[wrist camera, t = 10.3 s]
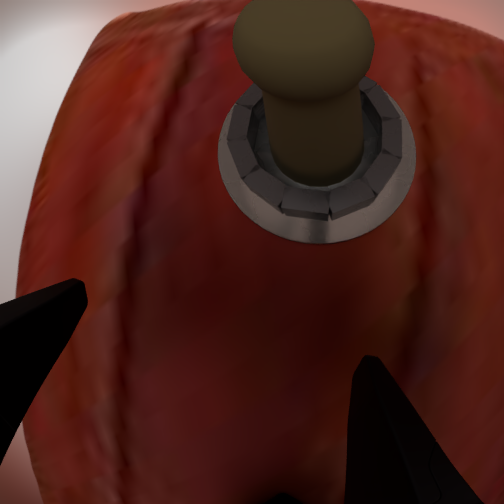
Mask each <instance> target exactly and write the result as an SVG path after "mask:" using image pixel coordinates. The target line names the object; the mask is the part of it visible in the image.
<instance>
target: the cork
mask: <svg viewBox="0 0 504 504" xmlns="http://www.w3.org/2000/svg"><path fill="white" fill-rule="evenodd" d="M232 39H233V49H234V52H235V55H236V57H237V60H238V62H239V64H240V66H241V69H242V71H243V72H244V73H245V74H246V75H247V76H248V77H249V78H250V79H251V80H252V81H253V82H254V83H255V84H256V85H257V86H258V87H259V88H260V89H261V90H262V95H263V102H264V109H265V116H266V123H267V130H268V137H269V145H270V151H271V154H272V157H273V160H274V163H275V164H276V165H277V167H278V168H279V169H280V171H281V172H282V173H283V174H284V175H286V176H287V177H288V178H290V179H291V180H293V181H294V182H297V183H300V184H303V185H306V186H309V187H327V186H330V185H334V184H337V183H340V182H342V181H343V180H345V179H346V178H348V177H349V176H351V175H352V174H353V173H354V172H355V170H356V169H357V167H358V166H359V165H360V163H361V161H362V157H363V153H364V134H363V121H362V110H361V99H360V90H359V82H360V81H361V80H362V78H363V77H364V76H365V74H366V73H367V71H368V70H369V68H370V64H371V60H372V56H373V51H374V45H375V43H374V39H373V35H372V31H371V27H370V24H369V21H368V19H367V18H366V16H365V15H364V14H363V13H362V11H361V10H360V9H359V8H358V7H357V6H356V4H355V3H354V2H353V1H352V0H253V1H251V2H250V3H249V4H248V5H246V6H245V7H244V9H243V10H242V12H241V13H240V15H239V16H238V18H237V21H236V23H235V25H234V32H233V38H232Z"/></svg>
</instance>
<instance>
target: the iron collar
mask: <svg viewBox="0 0 504 504" xmlns="http://www.w3.org/2000/svg"><path fill="white" fill-rule="evenodd" d="M359 90H360V99H361V110H362V121H363V134H364V153H363V157H362V161H361V163H360V165H359V166H358V167H357V169H356V170H355V172H354V173H353V174H352V175H351V176H349V177H348V178H346V179H345V180H343V181H342V182H340V183H337V184H334V185H330V186H327V187H309V186H306V185H303V184H300V183H297V182H294V181H293V180H291V179H290V178H288V177H287V176H286V175H284V174H283V173H282V172H281V171H280V169H279V168H278V167H277V165H276V164H275V163H274V160H273V157H272V154H271V151H270V145H269V137H268V130H267V123H266V116H265V109H264V102H263V95H262V90H261V89H260V88H259V87H258V86H257V85H256V84H255V83H253V84H252V85H251V86H250V87H249V88H248V90H247V91H246V92H245V93H244V94H243V95H242V96H241V97H240V98H239V99H238V100H237V101H236V103H235V104H234V105H233V107H232V109H231V110H230V112H229V113H228V115H227V117H226V119H225V122H224V124H223V127H222V130H221V133H220V138H219V144H218V161H219V169H220V173H221V176H222V180H223V182H224V184H225V187H226V189H227V191H228V193H229V194H230V196H231V198H232V199H233V201H234V202H235V203H236V205H237V206H238V207H239V208H240V209H241V211H242V212H243V213H244V214H246V215H247V216H248V217H249V218H250V219H251V220H252V221H253V222H255V223H256V224H258V225H259V226H261V227H262V228H263V229H265V230H267V231H269V232H271V233H273V234H275V235H277V236H279V237H282V238H285V239H288V240H291V241H295V242H300V243H305V244H318V245H319V244H334V243H339V242H345V241H348V240H351V239H354V238H357V237H360V236H362V235H364V234H366V233H368V232H370V231H372V230H373V229H375V228H376V227H378V226H379V225H381V224H382V223H383V222H384V221H385V220H387V219H388V218H389V217H390V216H391V215H392V214H393V213H394V212H395V210H396V209H397V208H398V207H399V205H400V204H401V203H402V201H403V200H404V198H405V196H406V194H407V193H408V191H409V188H410V186H411V183H412V180H413V176H414V172H415V165H416V149H415V142H414V137H413V133H412V130H411V128H410V125H409V123H408V120H407V119H406V117H405V115H404V113H403V111H402V110H401V108H400V107H399V106H398V104H397V103H396V102H395V101H394V100H393V98H392V97H391V96H390V95H389V94H388V93H387V92H385V91H384V90H383V89H382V88H381V86H380V85H377V83H376V82H375V81H373V80H371V79H369V78H368V77H366V76H364V77H363V78H362V80H361V81H360V82H359Z"/></svg>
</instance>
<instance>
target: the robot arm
mask: <svg viewBox="0 0 504 504" xmlns="http://www.w3.org/2000/svg"><path fill="white" fill-rule="evenodd" d="M87 304H88V299H87V294H86V289H85V284H84V282H83V281H81V280H78V279H75V278H71V279H69V280H66V281H63V282H60V283H57V284H54V285H52V286H49V287H46V288H43V289H41V290H38V291H35V292H32V293H30V294H27V295H24V296H21V297H19V298H16V299H13V300H11V301H8V302H5V303H3V304H0V465H1V463H2V461H3V458H4V456H5V454H6V452H7V450H8V448H9V446H10V444H11V441H12V439H13V437H14V435H15V433H16V431H17V429H18V427H19V425H20V423H21V421H22V420H23V418H24V416H25V414H26V412H27V410H28V408H29V407H30V405H31V403H32V401H33V399H34V398H35V396H36V394H37V392H38V391H39V389H40V387H41V385H42V384H43V382H44V380H45V379H46V377H47V375H48V374H49V372H50V370H51V369H52V367H53V365H54V364H55V362H56V361H57V359H58V357H59V356H60V354H61V353H62V351H63V349H64V348H65V346H66V345H67V343H68V341H69V339H70V338H71V336H72V334H73V332H74V330H75V328H76V326H77V324H78V322H79V321H80V319H81V317H82V315H83V313H84V311H85V309H86V307H87ZM281 498H283V499H285V500H282V499H281ZM264 504H302V503H301V502H299V501H298V500H296V499H294V498H293V497H291V496H289V495H288V494H286V493H280V494H278V495H276V496H275V497H273V498H272V499H270V500H268V501H267V502H265V503H264ZM344 504H484V503H483V502H482V501H481V500H480V499H479V498H478V496H477V495H476V494H475V493H474V491H473V490H472V489H471V487H470V486H469V485H468V484H467V482H466V481H465V480H464V479H463V477H462V476H461V475H460V474H459V472H458V471H457V470H456V468H455V467H454V466H453V464H452V463H451V462H450V460H449V459H448V457H447V456H446V454H445V453H444V452H443V450H442V449H441V447H440V445H439V444H438V442H436V440H435V438H434V437H433V435H432V434H431V432H430V431H429V429H428V428H427V426H426V425H425V423H424V422H423V420H422V419H421V417H420V416H419V414H418V413H417V411H416V410H415V408H414V407H413V406H412V404H411V403H410V401H409V400H408V398H407V397H406V395H405V394H404V393H403V391H402V390H401V388H400V387H399V385H398V384H397V383H396V381H395V380H394V378H393V377H392V375H391V374H390V373H389V371H388V370H387V368H386V367H385V366H384V364H383V363H382V361H381V360H380V359H379V358H378V357H376V356H371V355H365V356H364V357H363V358H362V360H361V362H360V364H359V365H358V367H357V369H356V370H355V372H354V374H353V378H352V388H351V398H350V406H349V415H348V428H347V465H346V484H345V499H344Z"/></svg>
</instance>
